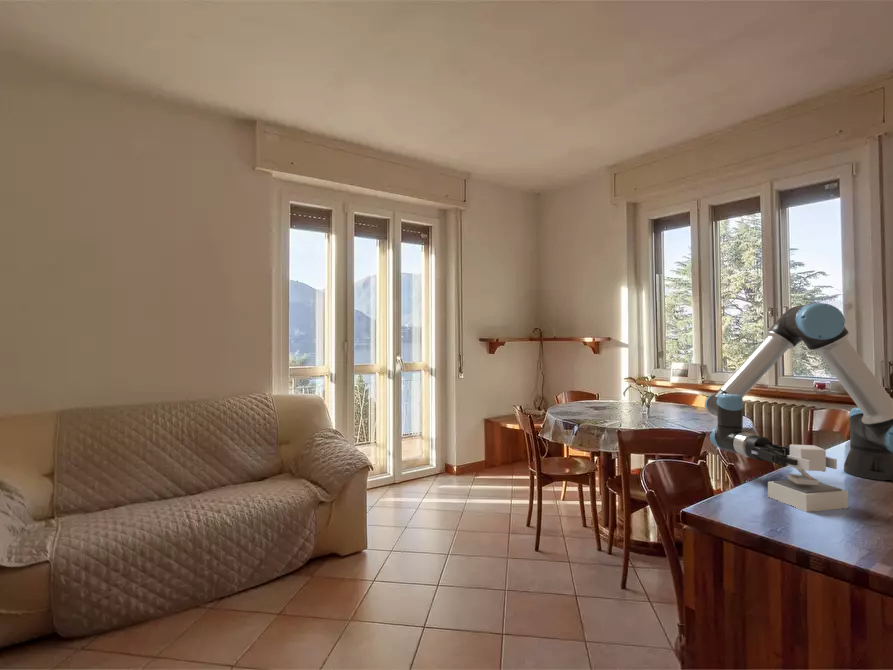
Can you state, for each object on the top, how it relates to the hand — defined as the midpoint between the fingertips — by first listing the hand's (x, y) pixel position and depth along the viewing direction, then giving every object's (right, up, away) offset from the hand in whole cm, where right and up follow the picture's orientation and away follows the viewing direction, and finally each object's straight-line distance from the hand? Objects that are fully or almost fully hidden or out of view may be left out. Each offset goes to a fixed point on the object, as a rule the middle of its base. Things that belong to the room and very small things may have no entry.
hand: (822, 464), depth 130 cm
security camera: (-1, -6, +4) cm, 8 cm away
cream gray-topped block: (-1, -12, +5) cm, 13 cm away
